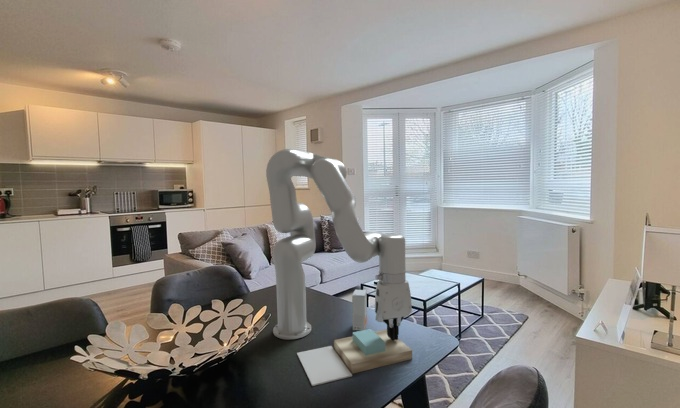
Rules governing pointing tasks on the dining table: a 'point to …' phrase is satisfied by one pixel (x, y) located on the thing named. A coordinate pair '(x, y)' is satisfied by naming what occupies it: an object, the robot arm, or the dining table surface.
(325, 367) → the mat
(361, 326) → the skincare box
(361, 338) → the tile
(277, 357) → the dining table surface
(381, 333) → the beige brown rectangular slab
